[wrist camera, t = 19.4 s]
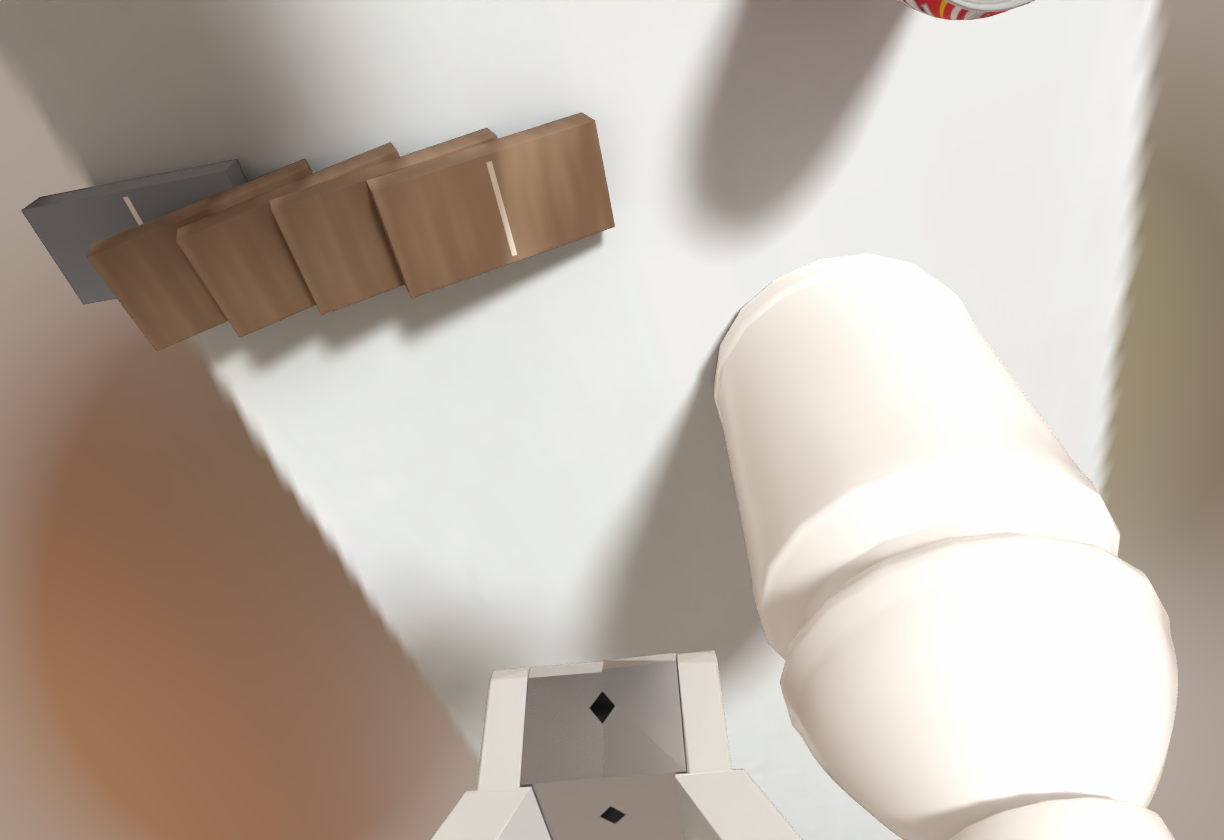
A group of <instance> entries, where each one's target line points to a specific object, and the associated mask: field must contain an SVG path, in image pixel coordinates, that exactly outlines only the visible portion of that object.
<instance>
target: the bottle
mask: <svg viewBox="0 0 1224 840" xmlns="http://www.w3.org/2000/svg"><path fill="white" fill-rule="evenodd" d="M714 399H715V403H716V406H717V410H718V413H719V417H720V420H721V424H722V427H723V431H724V435H725V440H726V446H727V451H728V456H729V461H730V467H731V472H732V477H733V482H734V487H735V492H736V496H737V501H738V506H739V512H740V517H741V522H742V527H743V532H744V537H745V543H746V549H747V554H748V560H749V565H750V571H751V577H752V582H753V596H754V600H755V603H756V607H757V610H758V613H759V617H760V620H761V623H762V627H763V630H764V633H765V637H766V640H767V643H768V644H769V645H770V646H771V647H772V648H773V649H774V650H775V651H776V652H777V653H778V654H779V655H780V656H781V657H782V658H784V659H785V660H786V662H785V665H784V668H783V672H782V675H781V679H780V685H781V689H782V693H783V696H784V700H785V703H786V706H787V710H788V713H789V716H790V719H791V723H792V725H793V726H794V728H795V729H796V730H797V732H798V733H799V734H800V735H801V737H802V738H803V740H804V742H805V743H806V745H807V747H808V749H809V750H810V752H811V753H812V755H813V756H814V758H815V759H816V760H817V762H818V763H819V764H820V766H821V767H822V768H823V769H824V770H825V772H826V773H827V774H828V775H829V776H830V777H831V778H832V779H833V780H834V781H835V782H836V783H837V784H838V785H839V786H840V787H841V788H842V789H843V790H844V791H845V792H846V793H847V794H848V795H849V796H850V797H852V798H853V799H854V800H855V801H856V802H857V803H858V804H860V805H861V806H862V807H863V808H864V809H865V810H867V811H868V812H869V813H870V814H871V815H872V816H874V817H875V818H876V819H877V820H878V821H880V822H881V823H882V824H883V825H884V826H886V827H887V828H888V829H889V830H891V831H892V832H893V833H895V834H896V835H898V836H899V837H900V838H902V839H903V840H1175V839H1174V837H1173V835H1172V833H1171V832H1170V830H1169V829H1168V828H1167V826H1166V825H1165V823H1164V822H1163V820H1162V819H1161V818H1160V816H1159V815H1158V814H1157V813H1155V812H1153V811H1151V810H1148V809H1146V808H1147V807H1148V805H1149V803H1150V801H1151V799H1152V797H1153V795H1154V793H1155V790H1156V788H1157V786H1158V783H1159V780H1160V777H1161V774H1162V771H1163V768H1164V764H1165V760H1166V755H1167V751H1168V746H1169V741H1170V737H1171V732H1172V728H1173V723H1174V717H1175V710H1176V703H1177V691H1178V672H1177V662H1176V657H1175V651H1174V647H1173V643H1172V639H1171V635H1170V623H1169V617H1168V615H1167V613H1166V611H1165V610H1164V608H1163V606H1162V604H1161V602H1160V600H1159V598H1158V596H1157V595H1156V593H1155V591H1154V589H1153V587H1152V585H1151V583H1150V581H1149V580H1148V579H1147V577H1146V575H1145V574H1144V573H1143V572H1142V571H1140V570H1138V569H1136V568H1135V567H1133V566H1131V565H1130V564H1128V563H1126V562H1124V561H1123V560H1121V559H1119V558H1118V557H1117V555H1118V547H1119V539H1120V532H1119V530H1118V528H1117V526H1116V524H1115V522H1114V520H1113V519H1112V517H1111V515H1110V513H1109V511H1108V509H1107V507H1106V505H1105V504H1104V502H1103V500H1102V498H1101V496H1100V494H1099V493H1098V492H1097V490H1096V488H1095V486H1094V484H1093V482H1092V481H1091V480H1090V479H1089V478H1088V477H1087V476H1086V475H1085V474H1084V473H1083V472H1082V471H1081V470H1080V468H1079V467H1078V466H1077V464H1076V463H1075V462H1074V460H1073V459H1072V458H1071V456H1070V455H1069V454H1068V452H1067V451H1066V450H1065V448H1064V447H1063V446H1062V444H1061V443H1060V442H1059V440H1058V439H1057V438H1056V436H1055V435H1054V434H1053V432H1052V431H1051V430H1050V428H1049V427H1048V425H1047V424H1046V423H1045V421H1044V420H1043V419H1042V417H1041V416H1040V414H1039V413H1038V412H1037V410H1036V409H1035V408H1034V406H1033V405H1032V403H1031V402H1030V401H1029V399H1028V398H1027V397H1026V395H1025V394H1024V392H1023V391H1022V389H1021V388H1020V387H1019V385H1018V384H1017V382H1016V381H1015V380H1014V378H1013V377H1012V375H1011V374H1010V373H1009V371H1008V370H1007V368H1006V367H1005V366H1004V364H1003V363H1002V362H1001V360H1000V359H999V357H998V356H997V355H996V353H995V352H994V351H993V349H992V348H991V347H990V345H989V344H988V342H987V341H986V340H985V338H984V337H983V336H982V334H981V333H980V332H979V330H978V329H977V328H976V326H975V324H974V323H973V321H972V319H971V317H970V316H969V314H968V312H967V310H966V308H965V307H964V305H963V303H962V301H961V300H960V298H959V297H958V296H957V295H956V294H955V293H954V292H952V291H951V290H950V289H949V288H947V287H946V286H945V285H944V284H942V283H941V282H939V281H938V280H936V279H935V278H933V277H932V276H931V275H929V274H928V273H926V272H925V271H923V270H922V269H920V268H919V267H918V266H916V265H915V264H913V263H910V262H906V261H901V260H896V259H891V258H887V257H882V256H877V255H872V254H858V255H850V256H842V257H833V258H825V259H819V260H817V261H815V262H812V263H810V264H808V265H805V266H803V267H801V268H799V269H796V270H794V271H792V272H790V273H787V274H785V275H783V276H780V277H778V278H776V279H775V280H774V281H773V282H772V283H770V284H769V285H768V286H767V287H766V288H765V289H763V290H762V291H761V292H760V293H759V294H758V295H756V296H755V297H754V298H753V299H752V300H751V301H750V302H748V303H747V304H746V305H745V306H744V307H743V308H742V309H741V310H740V312H739V314H738V316H737V317H736V319H735V321H734V322H733V324H732V326H731V327H730V329H729V331H728V332H727V334H726V336H725V337H724V339H723V341H722V343H721V344H720V349H719V356H718V362H717V369H716V376H715V385H714Z"/></svg>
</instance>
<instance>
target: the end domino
mask: <svg viewBox="0 0 1224 840" xmlns="http://www.w3.org/2000/svg"><path fill="white" fill-rule="evenodd" d="M246 182H247V180H246V178H245V176H244V174H243V172H242V170H241V167H240V165H239V163H238V161H237V159H235V160H230V161H225V162H220V163H215V164H210V165H204V166H199V167H194V168H189V169H184V170H179V171H173V172H168V173H163V174H158V175H153V176H148V177H142V178H137V179H132V180H127V181H122V182H117V183H112V184H106V185H101V186H96V187H88V188H83V189H78V190H73V191H68V192H63V193H58V194H53V195H48V196H43V197H39V198H38V199H37V200H35V201H34V202H32V203H31V204H30V205H28V206H27V207H26V208H24V209H23V210H22V212H23V214H24V215H25V217H26V218H27V220H28V222H29V223H30V225H31V226H32V228H33V229H34V231H35V232H36V234H37V235H38V237H39V238H40V239H41V241H42V243H43V244H44V246H45V247H46V249H47V250H48V252H49V253H50V255H51V256H52V258H53V259H54V261H55V262H56V264H57V265H58V267H59V268H60V270H61V271H62V273H63V274H64V276H65V277H66V279H67V280H68V282H69V283H70V285H71V286H72V288H73V289H74V291H75V293H76V294H77V295H78V297H79V298H80V300H81V302H82V303H83V304H89V303H94V302H100V301H105V300H111V299H116V296H115V295H114V294H113V292H112V291H111V290H110V288H109V287H108V286H107V285H106V283H105V282H104V281H103V279H102V278H101V277H100V275H99V274H98V273H97V271H96V270H95V269H94V267H93V266H92V265H91V263H90V262H89V261H88V259H87V258H86V257H87V254H88V251H89V248H90V245H92V244H94V243H97V242H99V241H102V240H104V239H107V238H109V237H112V236H114V235H117V234H119V233H121V232H124V231H126V230H129V229H131V228H134V227H136V226H139V225H141V224H144V223H146V222H149V221H151V220H154V219H156V218H159V217H161V216H164V215H166V214H169V213H171V212H174V211H176V210H179V209H181V208H184V207H186V206H189V205H191V204H194V203H196V202H199V201H201V200H204V199H206V198H208V197H211V196H213V195H216V194H218V193H221V192H223V191H226V190H228V189H231V188H233V187H236V186H238V185H241V184H243V183H246Z"/></svg>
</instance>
